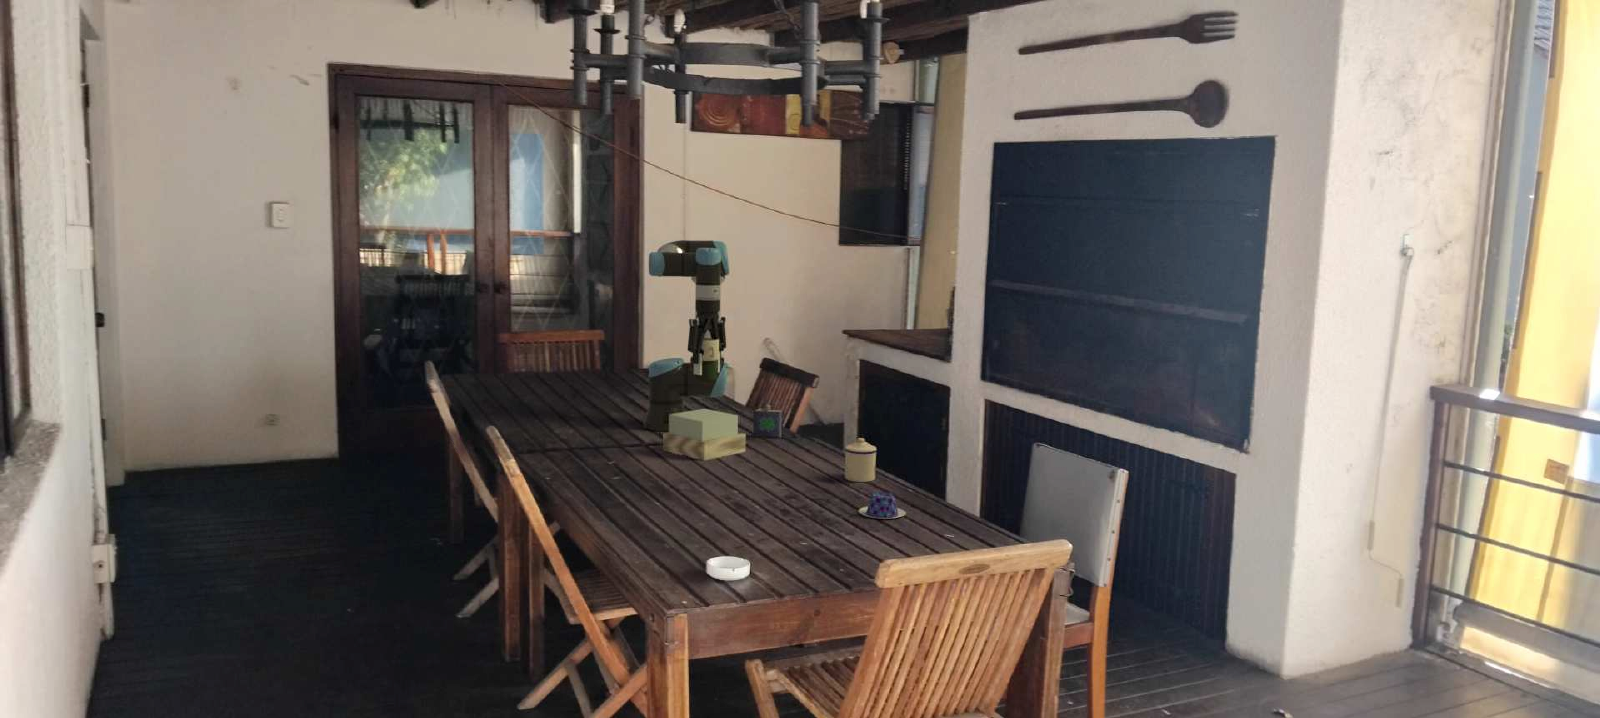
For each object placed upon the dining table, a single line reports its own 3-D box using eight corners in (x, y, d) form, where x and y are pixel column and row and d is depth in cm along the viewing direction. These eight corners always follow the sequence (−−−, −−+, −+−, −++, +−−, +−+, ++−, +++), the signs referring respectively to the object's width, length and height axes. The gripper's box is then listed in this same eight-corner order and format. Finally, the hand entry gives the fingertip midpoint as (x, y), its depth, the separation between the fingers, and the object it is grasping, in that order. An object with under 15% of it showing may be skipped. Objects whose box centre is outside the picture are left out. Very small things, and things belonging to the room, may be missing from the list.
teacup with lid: (881, 480, 337) (883, 440, 335) (854, 483, 332) (855, 443, 331) (860, 471, 347) (861, 432, 345) (833, 474, 343) (834, 434, 341)
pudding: (862, 521, 295) (863, 501, 295) (854, 508, 307) (855, 488, 307) (910, 521, 297) (911, 500, 296) (900, 508, 309) (901, 488, 308)
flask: (781, 436, 394) (782, 404, 393) (780, 438, 391) (781, 406, 390) (753, 435, 394) (754, 403, 393) (752, 437, 392) (753, 405, 390)
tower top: (668, 433, 368) (669, 414, 367) (704, 427, 379) (704, 408, 378) (702, 441, 358) (702, 421, 357) (737, 434, 369) (737, 415, 368)
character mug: (689, 379, 369) (689, 337, 367) (710, 378, 372) (711, 337, 370) (702, 384, 359) (703, 341, 357) (724, 383, 362) (725, 341, 361)
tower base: (663, 452, 368) (663, 433, 367) (704, 444, 382) (704, 425, 381) (704, 462, 357) (704, 442, 356) (745, 453, 370) (745, 434, 369)
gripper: (692, 301, 352) (692, 377, 355) (739, 298, 367) (738, 371, 370) (675, 299, 357) (674, 374, 360) (721, 296, 372) (720, 368, 375)
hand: (706, 373), depth 365 cm, fingers closed on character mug, 7 cm apart
